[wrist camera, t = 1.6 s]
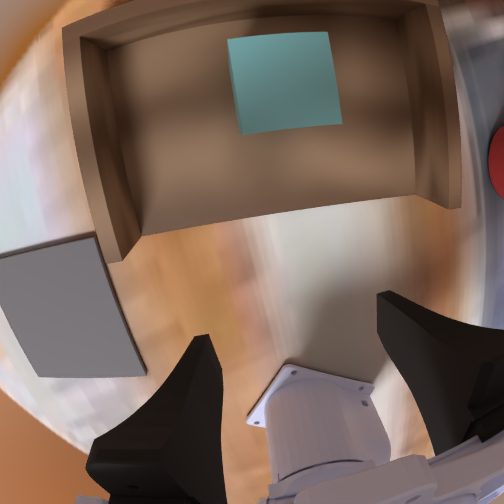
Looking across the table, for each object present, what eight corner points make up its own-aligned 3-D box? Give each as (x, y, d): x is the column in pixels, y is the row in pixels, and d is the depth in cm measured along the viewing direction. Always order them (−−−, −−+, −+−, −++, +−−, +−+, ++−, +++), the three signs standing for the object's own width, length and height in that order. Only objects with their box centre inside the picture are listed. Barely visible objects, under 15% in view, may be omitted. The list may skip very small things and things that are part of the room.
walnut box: (422, 191, 20) (460, 207, 15) (129, 235, 20) (106, 263, 16) (400, 11, 15) (434, -8, 11) (94, 44, 15) (62, 27, 11)
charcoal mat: (95, 235, 20) (93, 237, 19) (147, 372, 24) (146, 375, 24) (-14, 261, 20) (-17, 263, 19) (40, 374, 24) (38, 376, 24)
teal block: (308, 125, 17) (342, 123, 12) (239, 133, 17) (242, 135, 12) (298, 60, 16) (327, 31, 10) (228, 67, 16) (227, 39, 10)
